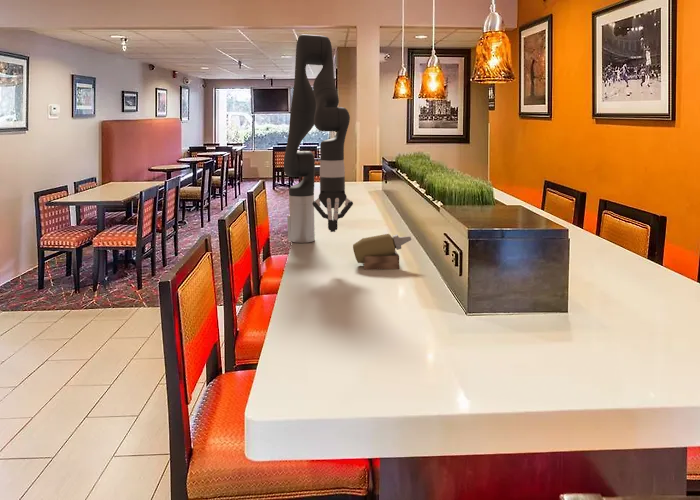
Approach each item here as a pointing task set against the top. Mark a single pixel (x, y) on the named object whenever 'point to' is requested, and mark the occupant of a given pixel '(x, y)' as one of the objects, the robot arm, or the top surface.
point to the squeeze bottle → (378, 246)
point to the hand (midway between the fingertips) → (332, 231)
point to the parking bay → (381, 262)
